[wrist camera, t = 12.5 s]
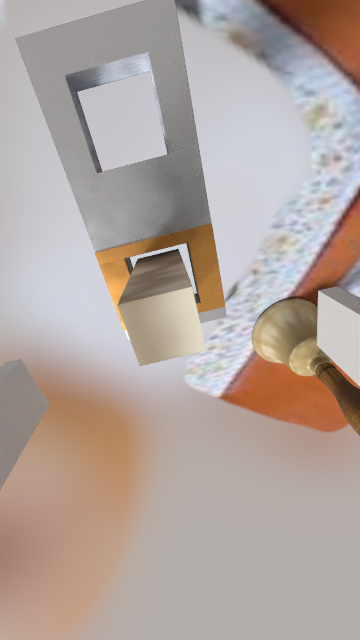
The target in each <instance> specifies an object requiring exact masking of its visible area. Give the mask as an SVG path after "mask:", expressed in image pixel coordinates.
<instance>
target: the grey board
mask: <svg viewBox="0 0 360 640" xmlns="http://www.w3.org/2000/svg"><path fill="white" fill-rule="evenodd" d="M15 39H16V42H17V45H18V48H19V50H20V53H21V56H22V58H23V61H24V64H25V66H26V69H27V71H28V74H29V77H30V80H31V82H32V85H33V88H34V90H35V93H36V96H37V98H38V100H39V104H40V106H41V109H42V112H43V114H44V117H45V120H46V122H47V125H48V128H49V130H50V133H51V136H52V138H53V141H54V143H55V146H56V149H57V151H58V154H59V157H60V159H61V162H62V165H63V167H64V170H65V173H66V175H67V178H68V180H69V183H70V186H71V189H72V191H73V194H74V196H75V199H76V202H77V205H78V207H79V210H80V213H81V215H82V218H83V220H84V223H85V226H86V229H87V231H88V234H89V236H90V239H91V242H92V245H93V247H94V250H95V255H96V257H97V260H98V262H99V265H100V268H101V270H102V273H103V276H104V278H105V281H106V283H107V286H108V289H109V292H110V294H111V297H112V299H113V302H114V305H115V307H116V310H117V313H118V316H119V318H120V321H121V323H122V326H123V328H124V331H125V332H126V335H127V338H128V340H130V338H129V335H128V333H127V330H126V327H125V324H124V322H123V319H122V316H121V314H120V311H119V308H118V306H117V304H118V302H119V300H120V298H121V295H122V293H123V291H124V289H125V287H126V284H127V282H128V280H129V278H130V275H131V273H132V271H133V267H132V264H131V260H130V257H132V256H136V255H140V254H144V253H148V252H151V251H155V250H159V249H164V248H168V247H172V246H175V245H179V244H183V243H187V248H188V252H189V257H190V262H191V267H192V271H193V276H194V281H195V286H196V290H197V294H194V297H195V302H196V306H197V311H198V315H199V320H200V323H203V322H207V321H211V320H216V319H220V318H224V317H227V316H226V310H225V302H224V296H223V289H222V283H221V277H220V271H219V265H218V259H217V253H216V246H215V240H214V235H213V228H212V223H211V219H210V212H209V206H208V200H207V194H206V188H205V182H204V175H203V170H202V163H201V157H200V151H199V145H198V139H197V133H196V126H195V121H194V115H193V109H192V102H191V96H190V90H189V84H188V77H187V71H186V66H185V59H184V53H183V47H182V41H181V35H180V29H179V22H178V16H177V10H176V4H175V0H145V1H142V2H138V3H135V4H132V5H128V6H124V7H121V8H118V9H114V10H111V11H107V12H104V13H101V14H97V15H94V16H90V17H87V18H83V19H80V20H77V21H73V22H70V23H66V24H63V25H59V26H56V27H52V28H49V29H46V30H42V31H39V32H35V33H32V34H28V35H25V36H22V37H18V38H15ZM149 71H150V73H151V78H152V83H153V88H154V92H155V97H156V101H157V106H158V111H159V116H160V121H161V125H162V130H163V135H164V139H165V144H166V149H167V154H168V155H164V156H161V157H157V158H153V159H150V160H146V161H142V162H138V163H134V164H130V165H127V166H123V167H119V168H115V169H112V170H108V171H104V172H102V169H101V166H100V163H99V160H98V157H97V154H96V150H95V147H94V144H93V141H92V138H91V135H90V132H89V129H88V125H87V122H86V119H85V116H84V113H83V110H82V106H81V103H80V100H79V97H78V94H77V92H78V91H81V90H85V89H89V88H92V87H96V86H99V85H103V84H106V83H110V82H114V81H117V80H121V79H124V78H128V77H131V76H135V75H138V74H142V73H145V72H149Z"/></svg>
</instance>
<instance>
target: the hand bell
mask: <svg viewBox="0 0 360 640" xmlns="http://www.w3.org/2000/svg"><path fill="white" fill-rule="evenodd" d="M317 321H318V307H317V306H316V305H315V304H313V303H312V302H310V301H307V300H304V299H297V298H296V299H288V300H283V301H280V302H278V303H276V304H274V305H272V306H271V307H269V308H268V309H267V310H266V311H265V312H264V313H263V314H262V315H261V316H260V317H259V318H258V320H257V322H256V324H255V326H254V329H253V333H252V343H253V347H254V349H255V351H256V352H257V353H258V354H259V355H260V356H261V357H262V358H263V359H265V360H267V361H270V362H274V363H285V364H286V365H287V366H288V367H289V368H290V369H291V370H292V371H294V372H295V373H297V374H299V375H303V376H311V375H315V374H316V376H317V377H318V378H319V379H320V380H321V381H322V382H323V383H324V384H325V385H326V386H327V387H328V388H329V390H330V391H331V392H332V393H333V394H334V395H335V397H336V399H337V401H338V403H339V406H340V408H341V410H342V412H343V414H344V416H345V417H346V419H347V420H348V422H349V423H350V425H351V426H352V427H353V429H354V430H355V431H356V432H357V433H358V434H359V435H360V389H358V388H356V387H355V386H353V385H352V384H351V383H350V382H348V381H347V379H346V378H345V377H344V376H343V375H342V374H341V373H340V372H339V371H338V370H337V369H336V367H335V366H334V365H333V364H332V361H333V360H332V359H331V358H330V357H328V356H327V355H326V354H325V353H324V352H323V351H322V350H321V349H320V348H319V347H318V346H317Z"/></svg>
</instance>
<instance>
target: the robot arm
mask: <svg viewBox="0 0 360 640" xmlns="http://www.w3.org/2000/svg"><path fill="white" fill-rule="evenodd" d="M317 346H318V347H319V348H320V349H321V350H322V351H323V352H324V353H325V354H326V355H327V356H328V357H330V358H331V359H332V360H333V361H334V362H335V363H336V364H337V365H338V366H339V367H340V368H341V369H342V370H343V371H344V372H345V373H346V374H347V375H348V376H349V377H350V378H352V379H353V380H354V381H355V382H356V383H357V384H358V385H359V386H360V298H359V297H357V296H355V295H353V294H351V293H349V292H347V291H345V290H343V289H341V288H339V287H337V286H336V287H332V288H327V289H323V290H319V291H318V321H317ZM48 406H49V403H48V401H47V399H46V398H45V396H44V395H43V393H42V391H41V390H40V388H39V387H38V385H37V384H36V382H35V380H34V379H33V377H32V376H31V374H30V373H29V371H28V369H27V368H26V366H25V365H24V363H23V362H22V360H21V359H19V360H15V361H11V362H6V363H4V364H3V365H2V366H1V367H0V489H1V488H2V486H3V484H4V482H5V481H6V479H7V477H8V476H9V474H10V472H11V470H12V469H13V467H14V465H15V463H16V461H17V460H18V458H19V456H20V454H21V453H22V451H23V449H24V448H25V446H26V444H27V442H28V441H29V439H30V437H31V435H32V433H33V432H34V430H35V428H36V427H37V425H38V423H39V421H40V419H41V418H42V416H43V414H44V413H45V411H46V409H47V408H48Z"/></svg>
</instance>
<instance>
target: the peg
mask: <svg viewBox="0 0 360 640" xmlns="http://www.w3.org/2000/svg"><path fill="white" fill-rule="evenodd" d="M117 306H118V308H119V311H120V314H121V316H122V319H123V322H124V324H125V327H126V330H127V333H128V335H129V338H130V340H131V343H132V346H133V348H134V351H135V354H136V357H137V359H138V362H139V365H140V366H142V365H147V364H151V363H155V362H160V361H163V360H168V359H173V358H177V357H181V356H185V355H190V354H194V353H198V352H203V351H206V347H205V343H204V338H203V334H202V330H201V325H200V320H199V315H198V311H197V306H196V302H195V297H194V293H193V288H192V285H191V282H190V279H189V277H188V274H187V271H186V269H185V266H184V263H183V260H182V258H181V255H180V252H179V250H178V249H176V250H172V251H168V252H164V253H160V254H156V255H152V256H148V257H144V258H140V259H138V260H137V262H136V264H135V267H134V269H133V271H132V273H131V275H130V278H129V280H128V282H127V284H126V287H125V289H124V291H123V293H122V295H121V298H120V300H119V302H118V304H117Z"/></svg>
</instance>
